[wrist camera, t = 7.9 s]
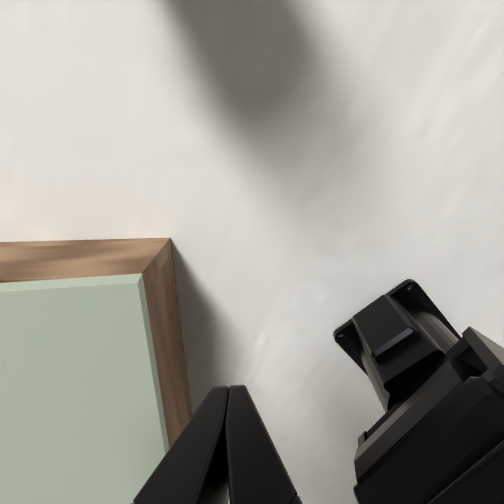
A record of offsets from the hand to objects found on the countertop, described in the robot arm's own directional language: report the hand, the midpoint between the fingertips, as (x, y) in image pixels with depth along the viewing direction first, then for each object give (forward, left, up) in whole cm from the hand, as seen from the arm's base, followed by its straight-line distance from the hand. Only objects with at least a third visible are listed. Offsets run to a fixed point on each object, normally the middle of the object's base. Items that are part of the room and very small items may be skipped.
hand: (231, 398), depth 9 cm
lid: (+1, +14, -6) cm, 15 cm away
